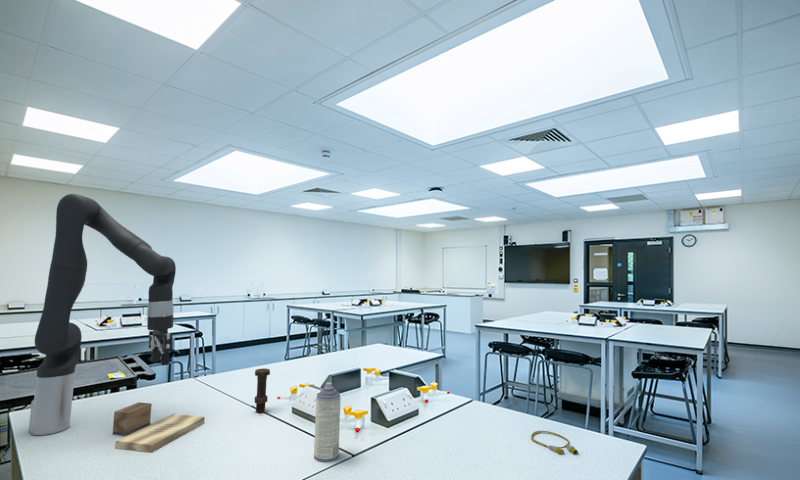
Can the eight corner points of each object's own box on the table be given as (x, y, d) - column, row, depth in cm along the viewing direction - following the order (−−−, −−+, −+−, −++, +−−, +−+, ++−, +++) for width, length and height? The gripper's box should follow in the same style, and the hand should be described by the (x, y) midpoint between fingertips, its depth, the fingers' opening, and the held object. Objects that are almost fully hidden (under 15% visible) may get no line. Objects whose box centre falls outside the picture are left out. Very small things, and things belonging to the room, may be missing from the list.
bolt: (257, 415, 138) (259, 372, 139) (249, 412, 141) (251, 370, 142) (271, 411, 142) (273, 369, 144) (263, 408, 145) (265, 367, 147)
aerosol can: (339, 450, 112) (341, 379, 114) (337, 461, 106) (340, 386, 107) (315, 450, 112) (318, 380, 113) (312, 462, 105) (315, 386, 107)
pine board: (115, 448, 111) (115, 440, 111) (173, 419, 132) (173, 413, 133) (151, 452, 109) (151, 444, 109) (204, 423, 130) (204, 416, 130)
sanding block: (112, 434, 120) (114, 411, 120) (137, 423, 129) (138, 402, 129) (126, 436, 119) (128, 412, 120) (150, 425, 128) (151, 403, 128)
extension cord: (535, 453, 114) (534, 446, 114) (528, 432, 129) (528, 426, 129) (579, 458, 111) (579, 451, 112) (567, 436, 127) (567, 430, 127)
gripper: (140, 315, 133) (140, 363, 131) (155, 316, 124) (155, 368, 122) (164, 312, 138) (164, 358, 137) (181, 314, 129) (180, 363, 128)
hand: (160, 363), depth 130 cm, fingers open, 8 cm apart
